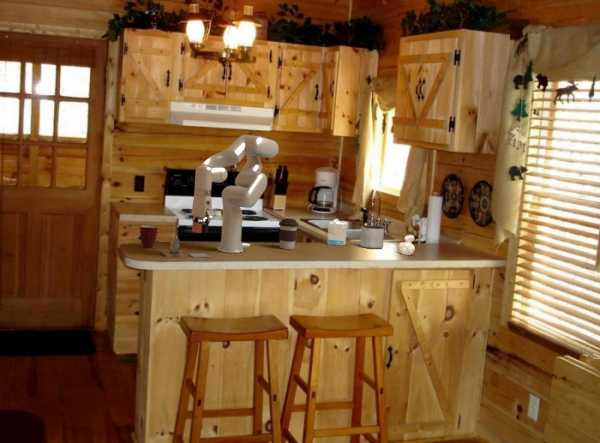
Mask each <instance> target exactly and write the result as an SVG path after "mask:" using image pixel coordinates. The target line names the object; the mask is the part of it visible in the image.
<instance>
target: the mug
mask: <svg viewBox="0 0 600 443" xmlns="http://www.w3.org/2000/svg"><path fill="white" fill-rule="evenodd" d="M139 234H140V240H141V241H140V242H141V244H142V246H143V248H146V249H152V248H153V247H154V244H155V243H156V241H157V240H156V239H157V235H158V226H156V225H149V224H145V225H140V227H139Z"/></svg>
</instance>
